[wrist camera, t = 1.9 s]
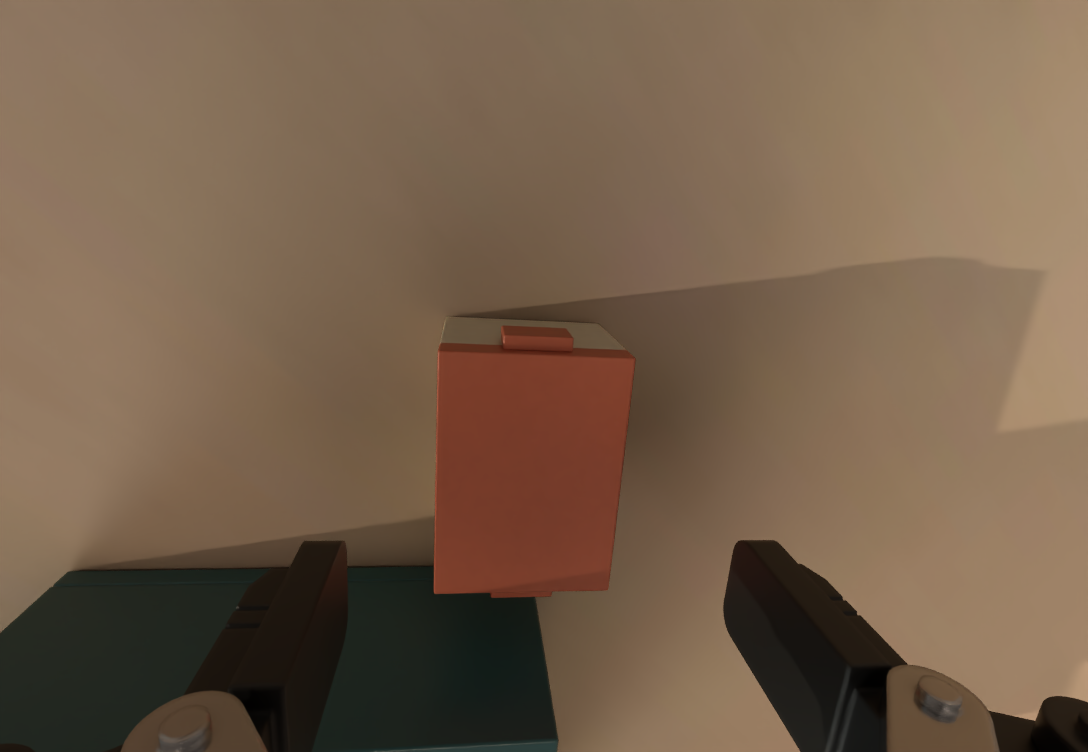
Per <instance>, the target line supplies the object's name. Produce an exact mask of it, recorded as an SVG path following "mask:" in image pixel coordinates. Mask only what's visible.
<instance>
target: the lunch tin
mask: <svg viewBox="0 0 1088 752" xmlns="http://www.w3.org/2000/svg"><path fill="white" fill-rule="evenodd" d="M268 570H270V569H206V570H132V571H70V572H67V573H66V574H65V575H64V576H63V577H62V578H61V579H59V580H58V581H57V582H56V583H55V584H54V586H53V587H51V588H49V589H48V590H47V591H46V592H45V593H44V594H43V595H42V596H40V597H39V598H38V599H37V600H36V601H35V602H34V603H33V604H32V605H31V606H29V607H28V608H27V609H26V610H25V611H24V612H23V613H22V614H21V615H19V616H18V617H17V618H16V619H15V620H14V621H13V622H12V623H11V624H10V625H8V626H7V627H6V628H5V629H4V630H3V631H2V632H1V633H0V744H5V743H15V744H22V745H25V746H28V747H30V748H31V749H33V750H34V751H35V752H103V751H106V750H109V749H112V748H115V747H117V746H120V745H122V744H124V742H125V740H126V738H127V737H128V735H129V734H130V732H131V731H132V730H133V729H134V728H135V726H136V725H137V724H138V723H139V722H140V721H142V720H143V719H144V718H145V717H146V716H147V715H149V714H150V713H151V712H153V711H154V710H156V709H157V708H159V707H160V706H162V705H164V704H166V703H168V702H170V701H172V700H174V699H176V698H179V697H181V696H183V695H184V693H185V691H186V690H187V688H188V686H189V685H190V683H191V681H192V680H193V678H194V676H195V675H196V673H197V671H198V670H199V668H200V666H201V665H202V663H203V661H204V660H205V658H206V656H207V655H208V653H209V651H210V650H211V648H212V646H213V645H214V643H215V641H216V640H217V638H218V636H219V635H220V633H221V631H222V630H223V629H225V627H226V623H227V621H228V620H229V618H230V616H231V615H232V613H233V611H236V607H237V605H238V603H239V602H240V600H241V598H242V597H243V595H244V593H245V592H246V590H247V588H248V587H249V586H250V585H251V584H252V583H253V582H255V581H256V580H257V579H258V578H260V577H261V576H262V575H263V574H265V573H266V572H267V571H268ZM347 581H348V622H347V630H346V636H345V641H344V645H343V649H342V652H341V655H340V659H339V662H338V665H337V669H336V672H335V675H334V679H333V682H332V685H331V689H330V692H329V695H328V699H327V702H326V705H325V709H324V712H323V715H322V719H321V722H320V726H319V729H318V732H317V736H316V739H315V742H314V746H313V749H312V752H557V750H558V734H557V728H556V722H555V716H554V709H553V703H552V697H551V691H550V685H549V678H548V672H547V666H546V660H545V654H544V648H543V641H542V635H541V629H540V623H539V617H538V610H537V604H536V598H535V597H507V598H491V597H490V593H453V594H434V566H428V567H354V568H347Z"/></svg>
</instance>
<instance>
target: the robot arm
mask: <svg viewBox="0 0 1088 752" xmlns="http://www.w3.org/2000/svg"><path fill="white" fill-rule="evenodd" d="M723 611H724V620H725V624H726V628H727V630H728V633H729V635H730V637H731V638H732V640H733V642H734V643H735V645H736V646H737V648H738V650H739V651H740V653H741V655H742V656H743V658H744V660H745V661H746V663H747V664H748V666H749V668H750V669H751V671H752V673H753V674H754V676H755V678H756V679H757V681H758V683H759V684H760V686H761V687H762V689H763V691H764V692H765V694H766V696H767V697H768V699H769V701H770V702H771V704H772V705H773V707H774V709H775V710H776V712H777V714H778V715H779V717H780V719H781V720H782V722H783V724H784V725H785V727H786V728H787V730H788V732H789V733H790V735H791V737H792V738H793V740H794V742H795V743H796V745H797V746H798V748H799V750H800V751H801V752H1088V702H1085V701H1082V700H1078V699H1075V698H1070V697H1062V696H1054V697H1049V698H1047V699H1045V700H1044V701H1043V703H1042V705H1041V708H1040V710H1039V713H1038V716H1037V718H1036V721H1033V720H1028V719H1024V718H1019V717H1014V716H1010V715H1005V714H1001V713H996V712H991V711H988V710H987V708H986V707H985V705H984V704H983V703H982V702H981V700H980V699H979V698H978V697H977V696H976V695H974V694H973V693H972V692H971V691H970V690H968V689H967V688H966V687H964V686H963V685H961V684H960V683H958V682H957V681H955V680H953V679H952V678H950V677H948V676H946V675H944V674H942V673H939V672H937V671H934V670H931V669H928V668H925V667H921V666H915V665H908V664H907V663H906V662H905V661H904V660H903V659H902V658H901V657H900V656H899V655H898V654H897V653H896V652H895V651H894V650H893V649H892V648H891V647H890V646H889V645H888V643H887V642H886V641H885V640H884V639H883V638H882V637H881V636H880V635H879V634H878V633H877V632H876V631H875V630H874V629H873V628H872V627H871V626H870V625H869V624H868V623H867V622H866V621H865V620H864V619H863V618H862V617H861V616H860V615H859V616H858V615H857V611H856V610H855V609H854V608H853V607H852V606H851V605H850V604H849V603H848V602H847V601H846V600H845V601H843V597H842V596H841V595H840V594H839V593H838V592H837V591H836V590H835V589H834V588H833V587H832V585H831V584H830V583H829V582H828V581H827V580H826V579H824V578H823V577H821V576H820V575H818V574H816V573H815V572H813V571H812V570H810V569H809V568H807V567H805V566H804V565H802V564H798V563H797V562H796V561H795V560H794V559H793V558H792V557H791V556H790V555H789V554H788V552H787V551H786V550H785V549H784V548H783V547H782V546H781V545H780V544H779V543H778V542H776V541H774V540H741V541H738V542H737V543H736V545H735V547H734V550H733V555H732V560H731V566H730V571H729V576H728V582H727V587H726V593H725V598H724V606H723ZM347 622H348V581H347V549H346V543H345V541H304V542H303V543H302V545H301V547H300V549H299V550H298V552H297V554H296V556H295V558H294V560H293V562H292V564H291V566H290V568H271V569H270V570H268V571H267V572H266V573H265V574H263V575H262V576H261V577H260V578H258V579H257V580H256V581H255V582H253V583H252V584H251V585H250V586H249V587H248V588H247V590H246V592H245V593H244V595H243V597H242V598H241V600H240V602H239V603H238V605H237V607H236V611H233V613H232V615H231V616H230V618H229V620H228V621H227V623H226V627H225V629H223V630H222V631H221V633H220V635H219V636H218V638H217V640H216V641H215V643H214V645H213V646H212V648H211V650H210V651H209V653H208V655H207V656H206V658H205V660H204V661H203V663H202V665H201V666H200V668H199V670H198V671H197V673H196V675H195V676H194V678H193V680H192V681H191V683H190V685H189V686H188V688H187V690H186V691H185V693H184V695H183V696H181V697H179V698H176V699H174V700H172V701H170V702H168V703H166V704H164V705H162V706H160V707H159V708H157V709H156V710H154V711H153V712H151V713H150V714H149V715H147V716H146V717H145V718H144V719H143V720H142V721H140V722H139V723H138V724H137V725H136V726H135V728H134V729H133V730H132V731H131V732H130V734H129V735H128V737H127V738H126V740H125V742H124V744H122V745H120V746H117V747H115V748H112V749H109V750H106V751H103V752H312V749H313V746H314V742H315V739H316V736H317V732H318V729H319V726H320V722H321V719H322V715H323V712H324V709H325V705H326V702H327V699H328V695H329V692H330V689H331V685H332V682H333V679H334V675H335V672H336V669H337V665H338V662H339V659H340V655H341V652H342V649H343V645H344V641H345V636H346V630H347ZM0 752H35V751H34V750H33V749H31V748H30V747H28V746H25V745H22V744H15V743H5V744H0Z"/></svg>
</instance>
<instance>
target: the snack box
mask: <svg viewBox="0 0 1088 752" xmlns="http://www.w3.org/2000/svg"><path fill="white" fill-rule="evenodd" d="M635 361H636V359H635V357H633V356H632V355H631V354H630V353H629V352H628V351H627V350H626V349H625V348H624V347H623V346H622V345H621V344H620V343H619V342H618V341H616V340H615V339H614V338H613V337H612V336H611V335H610V334H609V333H608V332H607V331H606V330H605V329H604V328H603V327H601V326H600V325H599V324H598V323H578V322H556V321H534V320H512V319H490V318H468V317H446V319H445V323H444V327H443V332H442V336H441V340H440V345H439V349H438V365H437V423H436V481H435V539H434V594H453V593H490V597H491V598H507V597H550V596H551V595H552V592H553V591H603V590H608V588H609V579H610V571H611V563H612V554H613V546H614V537H615V529H616V521H617V512H618V504H619V495H620V487H621V479H622V470H623V462H624V453H625V445H626V437H627V428H628V420H629V411H630V403H631V395H632V386H633V378H634V369H635Z"/></svg>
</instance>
